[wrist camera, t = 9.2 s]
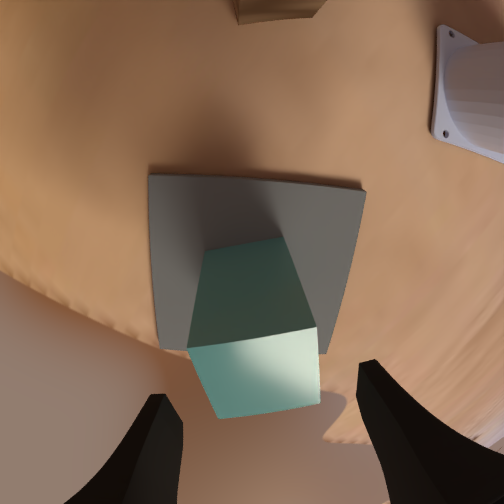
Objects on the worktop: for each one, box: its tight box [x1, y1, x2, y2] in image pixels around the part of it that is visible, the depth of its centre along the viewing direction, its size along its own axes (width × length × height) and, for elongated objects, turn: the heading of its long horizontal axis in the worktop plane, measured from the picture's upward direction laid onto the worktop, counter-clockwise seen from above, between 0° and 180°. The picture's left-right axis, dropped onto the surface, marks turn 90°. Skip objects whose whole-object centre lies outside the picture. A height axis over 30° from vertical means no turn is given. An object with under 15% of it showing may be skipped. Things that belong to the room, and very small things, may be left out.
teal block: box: [187, 237, 321, 419], centre depth 15 cm, size 4×4×8 cm
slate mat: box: [148, 173, 366, 354], centre depth 19 cm, size 12×12×1 cm
